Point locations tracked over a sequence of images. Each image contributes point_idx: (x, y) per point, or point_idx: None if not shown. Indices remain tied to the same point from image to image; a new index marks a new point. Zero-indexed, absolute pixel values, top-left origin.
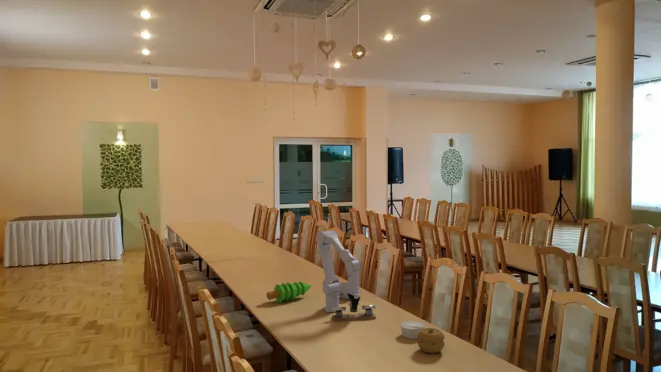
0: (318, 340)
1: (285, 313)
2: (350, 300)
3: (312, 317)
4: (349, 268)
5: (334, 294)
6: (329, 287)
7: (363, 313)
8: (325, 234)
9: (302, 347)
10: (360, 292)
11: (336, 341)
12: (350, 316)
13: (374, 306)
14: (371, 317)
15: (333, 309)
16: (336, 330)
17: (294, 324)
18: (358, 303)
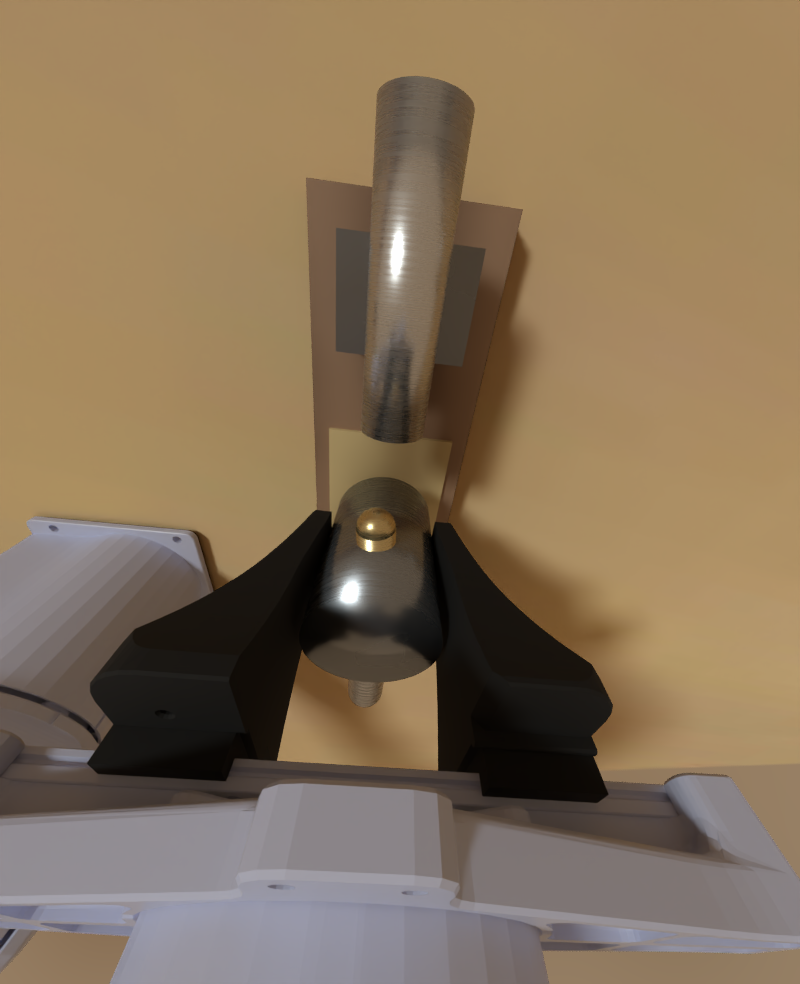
0: (657, 710)
1: None
2: (387, 678)
3: (310, 679)
4: None
5: (54, 741)
6: (16, 946)
7: (338, 359)
8: None
9: (677, 750)
10: (448, 804)
11: (741, 666)
12: None
13: (464, 139)
14: (499, 293)
15: (382, 689)
16: (589, 635)
17: (398, 736)
18: (393, 528)
